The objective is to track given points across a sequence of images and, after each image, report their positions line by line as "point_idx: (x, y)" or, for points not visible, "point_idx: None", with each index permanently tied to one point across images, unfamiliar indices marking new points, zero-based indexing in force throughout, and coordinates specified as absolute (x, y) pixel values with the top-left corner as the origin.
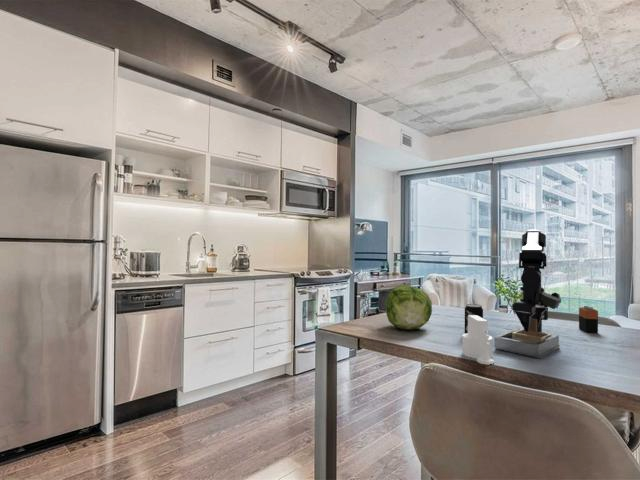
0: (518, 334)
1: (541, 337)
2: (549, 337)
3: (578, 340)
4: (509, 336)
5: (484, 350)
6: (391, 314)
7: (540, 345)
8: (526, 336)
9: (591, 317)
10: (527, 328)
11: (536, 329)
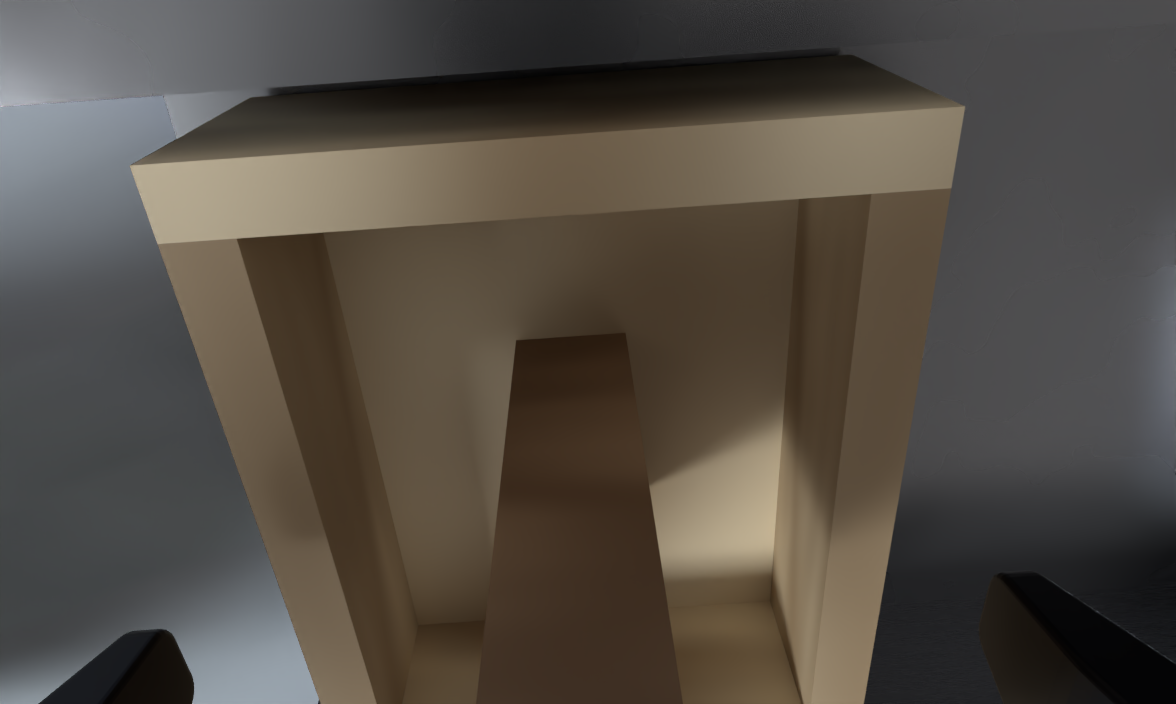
0: (865, 650)
1: (893, 192)
2: (644, 33)
3: None
4: (864, 702)
5: None
6: None
7: None
8: (878, 506)
9: None
10: (1124, 652)
11: (571, 533)
